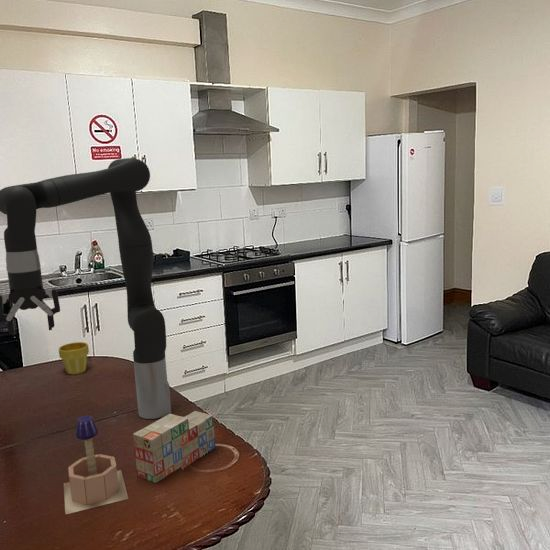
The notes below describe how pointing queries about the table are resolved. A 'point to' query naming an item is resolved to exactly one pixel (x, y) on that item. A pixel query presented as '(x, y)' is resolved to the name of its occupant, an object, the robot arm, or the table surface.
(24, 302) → the robot arm
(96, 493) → the beige octagonal hollow piece
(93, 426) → the toy lamp
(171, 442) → the stack of blocks
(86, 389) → the table surface
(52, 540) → the table surface
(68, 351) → the plant pot
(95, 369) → the table surface
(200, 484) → the table surface
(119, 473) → the birch board
